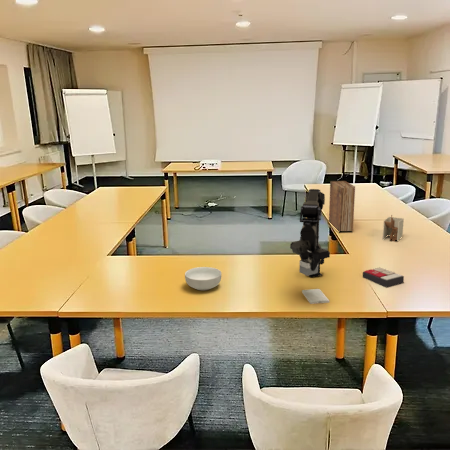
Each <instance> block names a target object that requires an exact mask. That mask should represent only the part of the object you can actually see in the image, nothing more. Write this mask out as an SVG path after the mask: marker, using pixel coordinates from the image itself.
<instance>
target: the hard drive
mask: <svg viewBox="0 0 450 450" xmlns="http://www.w3.org/2000/svg"><path fill="white" fill-rule="evenodd" d="M301 293H302V294H303V296H304V297H305V299H306V300H307V301H308V303H309V304H310V305H313V304H314V305H315V304H326V303H330V300H329V298H328V297H327V296H326V295H325V293H324V292H323V291H322V290H321V289H320V288H314V289H313V288H312V289H311V288H310V289H302V290H301Z"/></svg>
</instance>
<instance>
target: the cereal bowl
mask: <svg viewBox="0 0 450 450" xmlns="http://www.w3.org/2000/svg"><path fill="white" fill-rule="evenodd" d="M184 279H185V282H186V284H187V285H188V286H189V287H191V288H193V289H195V290H198V291H209V290H211V289H213V288H215V287H217V286H218V285H220V282H221V280H222V271H221V270H220V269H218V268H216V267H211V266H198V267H192V268H190V269H188V270H186V271H185V273H184Z"/></svg>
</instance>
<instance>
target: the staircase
mask: <svg viewBox="0 0 450 450" xmlns="http://www.w3.org/2000/svg"><path fill="white" fill-rule="evenodd" d="M404 220H405V219H404V218H402V217H393V214H391V216H388V217H387V218H385V219H384V220H383V227H382V228H383V229H382V240H383V239H384V238H385V237H386V236H387V235H390V236H389V241H390V240H391V239H392V241H395V240H397V241H398V240H399V239H400V238H401V237H402V238H403V233H404ZM393 235H394V236H393ZM386 238H387V237H386ZM386 238H385V239H386ZM402 238H401V239H402ZM385 239H384V240H385ZM401 239H400V240H401ZM400 240H399V241H400ZM399 241H398V242H399Z"/></svg>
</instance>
